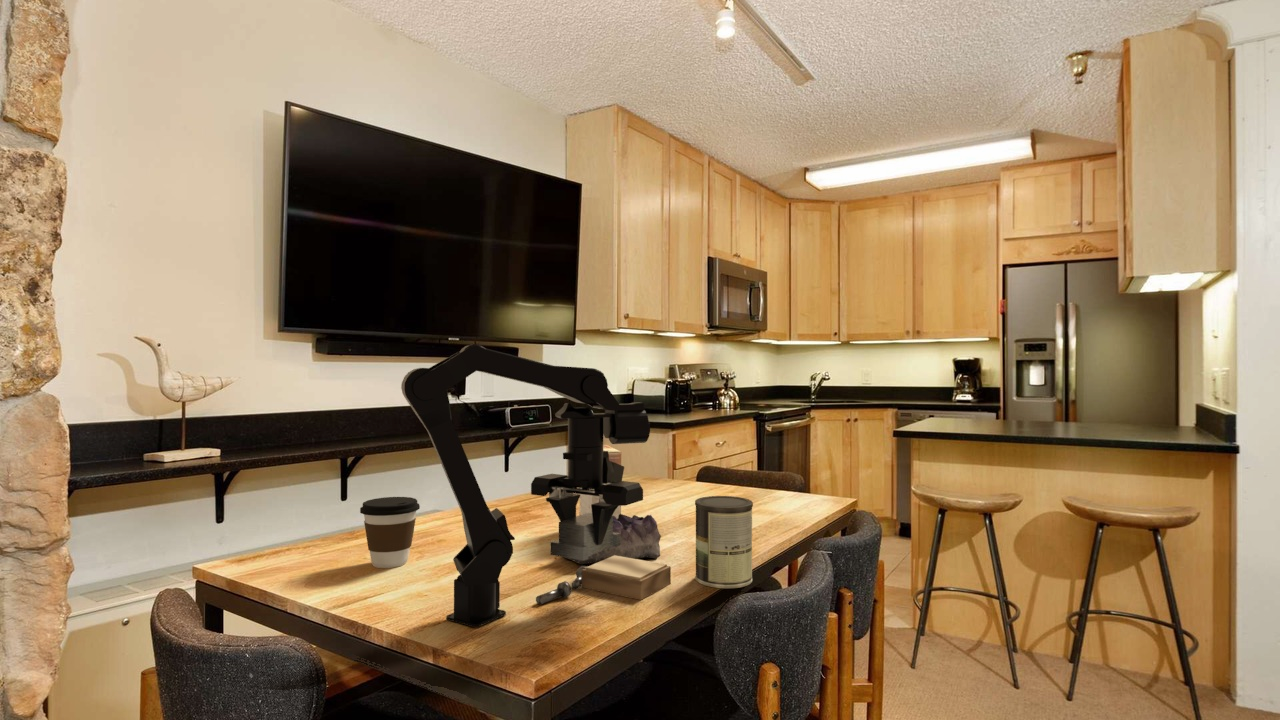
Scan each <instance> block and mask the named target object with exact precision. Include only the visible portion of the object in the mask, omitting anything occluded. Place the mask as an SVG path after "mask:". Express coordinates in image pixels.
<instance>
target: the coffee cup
mask: <svg viewBox="0 0 1280 720" xmlns="http://www.w3.org/2000/svg"><path fill="white" fill-rule="evenodd" d="M420 507H421V506H420V503H418V499H416V498H415V497H409V496H388V497H387V496H385V497H378V498H372V499H368V500H366V501H364V502H363V503H362V506H361V507H360V509H359V512H360V514H363V517H364V520H363V523H364V529H365V536H366V542H367V547H368V551H369V554H370V555H369V556H370V561H371V562H370V563H371V564H372V565H373V566H372V567H374V568H377V569H391V568H392V569H393V568H398V567H402V566H404V565H405V564H407V562H408V560H409V557H410V556H409V555H410V551H411V547H412V545H413V539H414V538H413V537H414V533H415V532H414V530H415V527H416V526H415V525H416V514H417V511H418V510H420Z"/></svg>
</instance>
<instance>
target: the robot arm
mask: <svg viewBox="0 0 1280 720" xmlns="http://www.w3.org/2000/svg"><path fill="white" fill-rule="evenodd" d="M476 372H479V373H484V374H488V375H492V376H496V377H500V378H503V379H504V378H505V379H509V380H513V381H517V382H521V383H524V384H529V385H534V386H536V387H537V386H538V387H542V388H544V389H546V390H548V391H550V392H552V393H555V394H557V395H559V396H561V397H563V398H565V399H567V400H570V401H571V402H575V403H579V404H585V405H588V407H574V406H573V405H572V404H571V403H570V402H569V403H567V402H565V403H564V404H563V406H562V407H560V409H559V410H558V411H556V412H555V413H554V415H555V417H556V418H559V419H561V420H562V419H564V420H565V419H566V420H567V451H566V452H562V460H567V475H566V474H559V473H558V474H557V473H550V474H549V473H548V474H543V475H539V476H535V477H534V479H533V480H532V482H531V483H530V495H532V496H539V497H546V498H545V502H547V503H550V505H551V508H552V509H553V511H554V512H555V514H556V516H557V517H558V519H559V522H560V521H564V520H567V519H570V518H573V517H576V516H577V504H578V502H579V501H580V494H585V495H593V496H599V502H598V503H595V504H591V508H592V517H593V526H594V535H595V540H596V545H601V544H602V542H603V540H604V537H605V534H606V531H607V528H608V525H609V522H610V520H611V517H612V515H613V513H614V511H615V510H616V509H617V507H618V506H621V507H625V506H629V505H631V504H635V503H638V502H641V501H643V500H644V489H643V487H642V485H641V483H640V482H638V481H637V482H635V481H626V480H623V476H624V473H625V472H624V471H625V466H623V465H622V464H621V465H619V464H617V463H615V462H612V461H609V454H608V451H603V445H604V438H605V439H608V441H609V442H610V444H611V445H624V444H627V445H628V444H644V443H647V442H648V440H649V438H650V435H651V423H650V421H649V417H648V414H647V411H646V410H645V403H644V402H638V401H637V402H631V403H619V402H618V401H617V399H616V398H615V397H614V395H613V393H612V392H611V391H610V389H609V388H608V387H609V384H608V380H607V377H606V376H605V374H604V373H603V371H601V370H599V369H597V368H591V367H577V366H566V365H565V366H562V365H552V364H548V363H544V362H541V361H537V360H533V359H529V358H525V357H521V356H518V355H513V354H510V353H506V352H501V351H499V350H494V349H489V348H486V347H484V346H482V345H481V344H476V343H475V344H469V345H465V346H464V347H462V348H461V349H460V351H457V352H456V353H454V354H452V355H450V356H448V357H446V358H445V359H443V360H441V361H439V362H437V363H435V364H433V365H432V366H430V367H418V368H413V369H412V370H410V371H408V372H407V373H406V374H405V375H404V376H403V378H402V381H401V386H400V387H401V388H400V389H401V391H402V395H403V397H404V398H405V400H406V402H407V403H408V405H409V406H410V408H411V409H412V411H413V412H414V414H415V416H416V417H417V418H418V419H419V421H420V423H422V426H423V427H424V428H425V429H426V431H427V434H428V435H429V438H430V440H431V443H432V445H433V448H434V450H435V453H436V454H437V457H438V460H439V462H440V464H441V467H442V469H443V471H444V474H445V476H446V478H447V481H448V483H449V485H450V488H451V490H452V492H453V495H454V497H455V499H456V501H457V505H458V507H459V509H460V512H461V516H462V522H463V523H462V524H463V529H464V530H463V531H464V535H465V540H466V544H465V545H464V546H463V548H461V549H460V551H458V553H457V554H456V555H455V556H454V557H453V559H452V560H453V563H454V565H455V566H454V567H455V568H456V571H457V572H458V573H459V575H458V576H457V577H456V578H455V579H454V580H453V612H452V613H450V614H447V615H446V617H445V618H446V620H447V621H451V622H454V623H458V624H463V625H465V626H469V627H473V628H479V627H482V626H483V625H486V624H488V623H490V622H492V621H494V620H495V621H496V620H497V619H499V618H502V617H504V616H506V614H507V612H506V610H504V609H500V604H501V603H500V602H501V601H500V599H501V598H500V592H501V590H500V588H501V587H500V586H501V584H500V581H499V579H500V578H499V577H500V575H501V573H502V570H503V567H505V566H507V564H508V563H509V561H510V560H511V558H512V556H513V553H514V547H513V543H512V541H514V540H516V538H515V536H513V534H512V533H511V532H510V530H509V526H508V521H507V517H506V515H505V514H504V513H503V512H502V511H501V510H500V509H499V508H497V507H495V508H494V509H493V510H491V509H490V508H489V507H488V505H487V502H486V500H485V497H484V495H483V493H482V491H481V487H480V486H479V484H478V483H479V482H478V481H477V478H476V476H475V473H474V472H473V469H472V467H471V466H472V465H471V463H470V461H469V459H468V456H467V454H466V452H465V449H464V447H463V445H462V443H461V442H462V441H461V440H460V438H459V436H458V433H457V430H456V428H455V425H454V423H453V417H452V411H451V403H450V398H449V394H448V390H449V389H451V388H453V387H454V386H456V385H458V384H459V383H460V382H461V381H463V380H464V379H466V378H468V377H469V376H471V375H472V374H474V373H476ZM589 406H590V407H589ZM592 408H594V409H598V410H604V412H596V413H595V412H593V410H592ZM603 483H604V484H607V483H611V484H607V485H603ZM581 488H582V489H581ZM589 489H590V490H589ZM591 489H594V490H591ZM547 495H548V497H547Z"/></svg>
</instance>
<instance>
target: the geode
mask: <svg viewBox="0 0 1280 720" xmlns="http://www.w3.org/2000/svg"><path fill="white" fill-rule="evenodd" d="M613 532H615V533H621V545H620V546H618V547H610V548H608V549H606V550H603V551H601V552H598V553H596V554H593V555H591V556H588V559H586V560H584V561H582V560H577V559H571V558H566V557H564V558H565V559H567V560H571V561H573V562H576V564H579V565H584V564H587V565H588V564H589V565H590V564H594V563H598V562H600V561H602V560H605V559H607V558H609V557H612V556H614V555H616V556H621V557H627V558H633V559H639V560H641V559H643V558H648V559H655V560H657V559H659V557H661V547H660V541H661V538H662V535H661V533H660V531H659V529H658V522H657V521H656V519H655V518H654V517H653V516H652V514H647V515H645V516H640V517H639V516H638V515H636V514H633V515H632V516H628V515H625V514H622V513H621V514H619V517H618V519H616V517H615V516H613Z"/></svg>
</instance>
